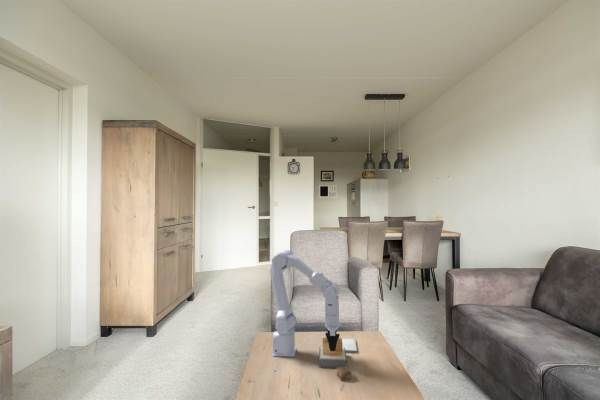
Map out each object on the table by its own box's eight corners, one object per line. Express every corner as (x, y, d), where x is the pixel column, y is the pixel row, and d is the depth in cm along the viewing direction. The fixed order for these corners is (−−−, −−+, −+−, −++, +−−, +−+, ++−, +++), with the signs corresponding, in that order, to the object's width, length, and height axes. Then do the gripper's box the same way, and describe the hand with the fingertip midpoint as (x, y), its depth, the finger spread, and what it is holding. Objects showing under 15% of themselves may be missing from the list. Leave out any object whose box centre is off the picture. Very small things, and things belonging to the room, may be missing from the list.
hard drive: (357, 350, 131) (355, 338, 143) (338, 349, 132) (337, 337, 144) (357, 354, 131) (355, 342, 143) (338, 353, 132) (337, 341, 144)
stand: (319, 367, 119) (318, 358, 119) (319, 354, 130) (319, 346, 130) (346, 368, 118) (346, 359, 118) (345, 354, 129) (344, 346, 129)
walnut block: (341, 381, 109) (341, 373, 110) (337, 375, 113) (337, 367, 113) (351, 379, 111) (351, 371, 111) (346, 374, 114) (346, 366, 114)
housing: (322, 354, 123) (322, 342, 123) (322, 350, 127) (322, 337, 127) (342, 355, 122) (342, 342, 122) (341, 350, 126) (341, 338, 126)
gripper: (342, 319, 117) (343, 355, 117) (340, 307, 132) (341, 339, 131) (324, 319, 118) (325, 354, 117) (324, 307, 132) (325, 338, 132)
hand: (332, 346), depth 124 cm, fingers open, 7 cm apart
